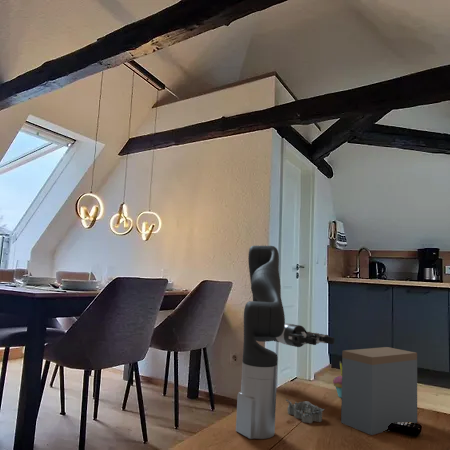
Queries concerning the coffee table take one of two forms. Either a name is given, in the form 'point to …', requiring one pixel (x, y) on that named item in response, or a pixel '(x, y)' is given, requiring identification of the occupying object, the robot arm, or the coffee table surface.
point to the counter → (378, 388)
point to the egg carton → (305, 411)
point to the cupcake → (338, 383)
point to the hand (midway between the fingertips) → (325, 341)
